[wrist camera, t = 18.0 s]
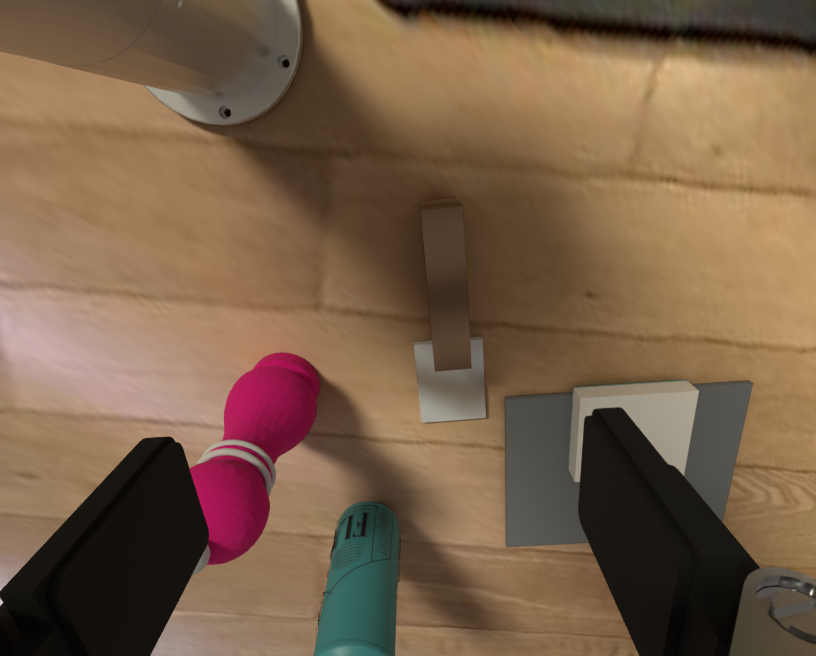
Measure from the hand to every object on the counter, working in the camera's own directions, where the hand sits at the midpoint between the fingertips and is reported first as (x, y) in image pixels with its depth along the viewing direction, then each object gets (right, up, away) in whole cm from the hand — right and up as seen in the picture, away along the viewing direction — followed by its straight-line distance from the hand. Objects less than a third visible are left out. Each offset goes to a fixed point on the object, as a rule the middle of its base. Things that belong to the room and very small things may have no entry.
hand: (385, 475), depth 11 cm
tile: (+20, -2, +29) cm, 36 cm away
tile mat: (+21, -11, +34) cm, 42 cm away
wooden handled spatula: (+4, +3, +29) cm, 30 cm away
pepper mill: (-11, -2, +31) cm, 33 cm away
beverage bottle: (-3, -16, +37) cm, 40 cm away
